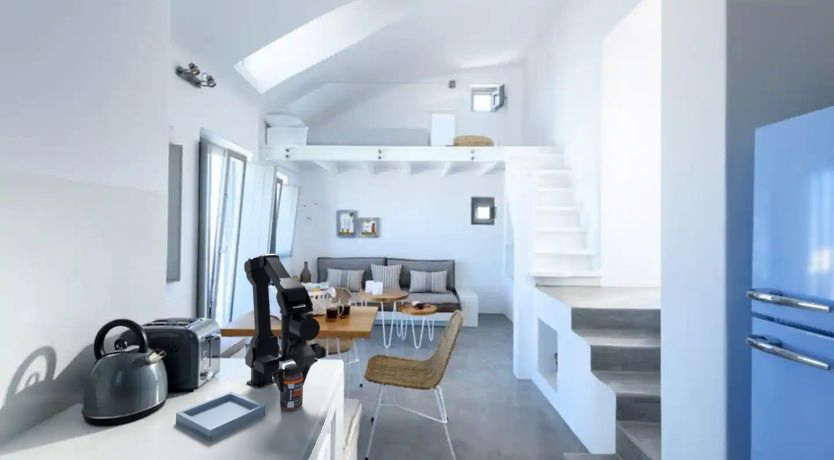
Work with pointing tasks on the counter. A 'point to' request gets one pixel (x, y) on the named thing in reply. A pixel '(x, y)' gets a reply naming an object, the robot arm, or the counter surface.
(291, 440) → the counter surface
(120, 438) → the counter surface
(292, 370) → the supplement bottle
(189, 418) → the tray
